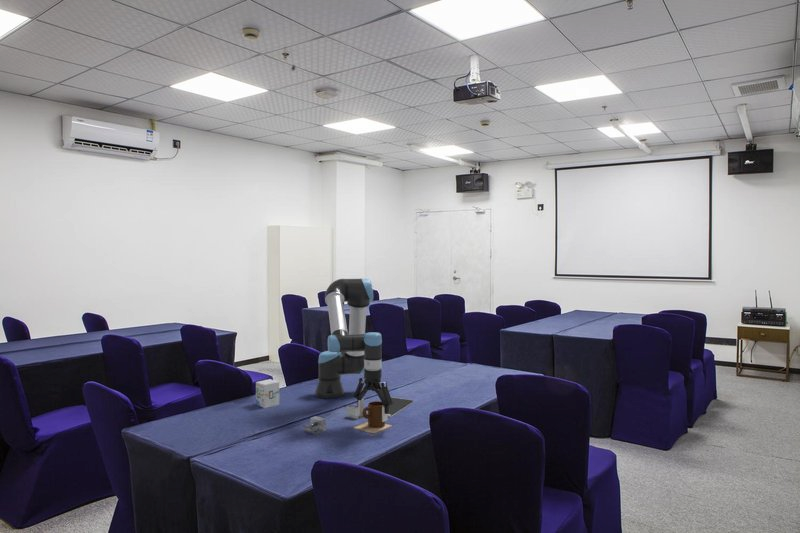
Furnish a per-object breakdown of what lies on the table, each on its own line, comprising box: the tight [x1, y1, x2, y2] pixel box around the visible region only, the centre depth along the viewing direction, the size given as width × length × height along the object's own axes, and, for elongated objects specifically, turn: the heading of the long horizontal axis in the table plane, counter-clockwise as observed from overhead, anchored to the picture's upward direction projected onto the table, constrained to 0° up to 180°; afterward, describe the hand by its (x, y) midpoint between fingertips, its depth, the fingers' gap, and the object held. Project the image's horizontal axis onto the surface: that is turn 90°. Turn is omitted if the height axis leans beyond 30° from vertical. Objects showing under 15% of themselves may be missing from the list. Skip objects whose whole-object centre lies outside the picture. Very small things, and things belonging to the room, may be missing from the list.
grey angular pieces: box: [302, 404, 364, 436], centre depth 221 cm, size 7×33×5 cm, turn 142°
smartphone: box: [366, 396, 414, 418], centre depth 246 cm, size 13×27×2 cm, turn 155°
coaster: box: [352, 421, 393, 435], centre depth 217 cm, size 12×12×1 cm
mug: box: [362, 400, 386, 428], centre depth 217 cm, size 12×8×9 cm, turn 138°
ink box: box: [255, 378, 280, 409], centre depth 250 cm, size 8×8×12 cm
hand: (372, 417), depth 217 cm, fingers open, 13 cm apart
